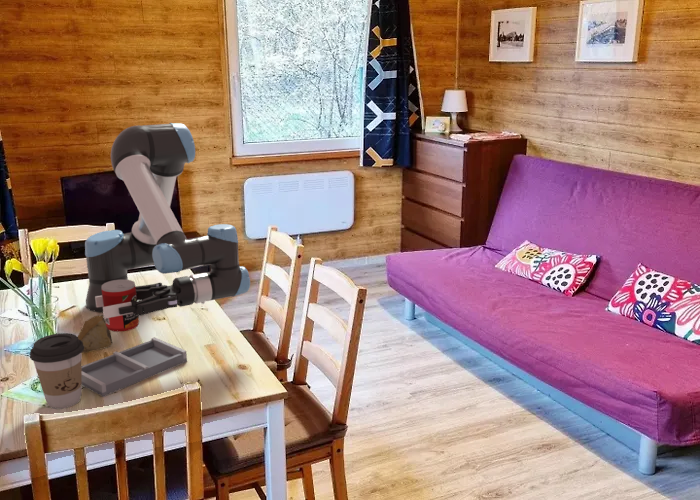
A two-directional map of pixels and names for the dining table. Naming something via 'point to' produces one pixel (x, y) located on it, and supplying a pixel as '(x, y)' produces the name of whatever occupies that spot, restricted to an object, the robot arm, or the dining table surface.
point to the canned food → (119, 294)
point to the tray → (131, 366)
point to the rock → (95, 334)
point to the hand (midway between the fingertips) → (99, 307)
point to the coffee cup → (59, 368)
